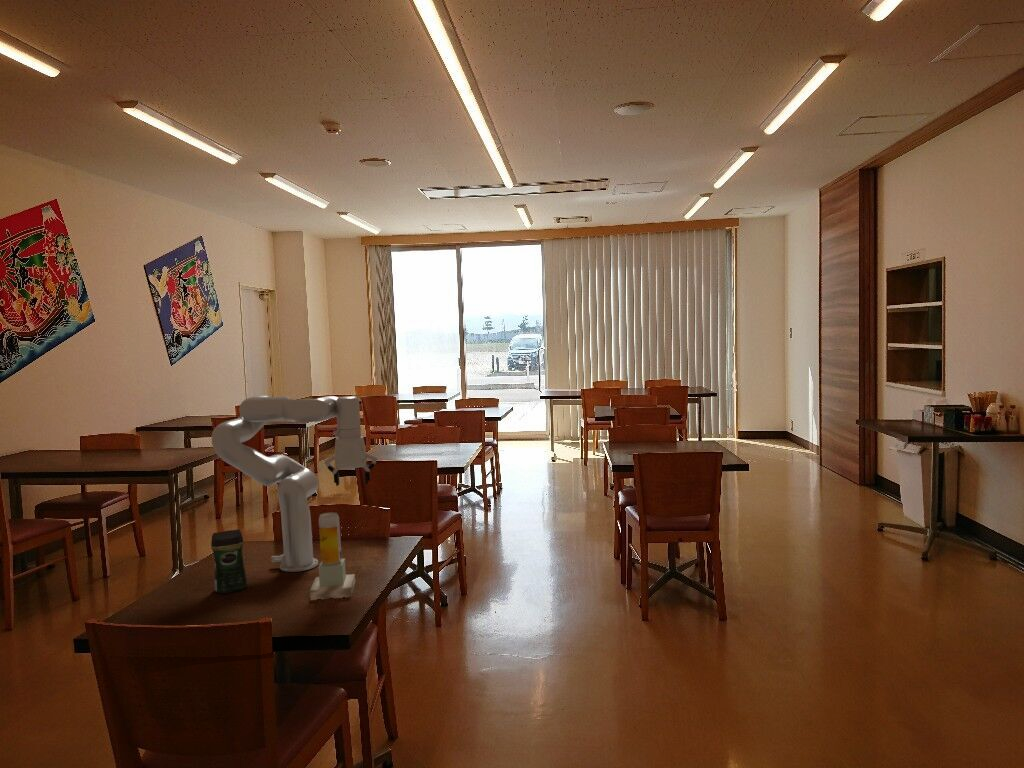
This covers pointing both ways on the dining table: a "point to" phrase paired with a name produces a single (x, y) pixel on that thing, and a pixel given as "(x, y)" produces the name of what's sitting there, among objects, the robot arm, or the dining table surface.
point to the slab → (333, 589)
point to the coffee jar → (228, 561)
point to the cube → (332, 574)
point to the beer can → (330, 538)
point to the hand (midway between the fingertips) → (352, 484)
